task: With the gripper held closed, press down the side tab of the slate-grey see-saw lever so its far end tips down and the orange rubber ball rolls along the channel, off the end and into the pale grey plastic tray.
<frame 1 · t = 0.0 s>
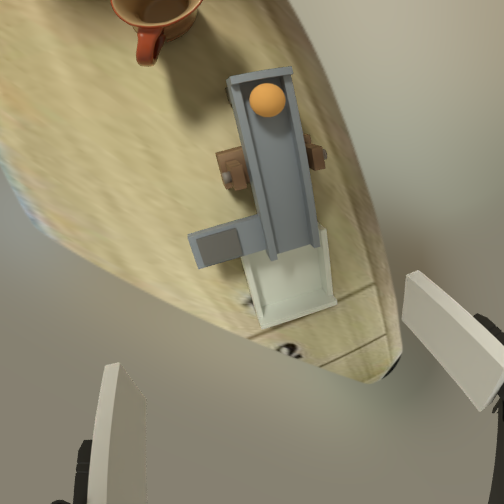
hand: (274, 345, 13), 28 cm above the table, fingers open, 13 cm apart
lever: (240, 176, 30), point 7 cm above the table, hinge at 0.0°, touching ball
mug: (162, 30, 28), on the table
fulcrum: (262, 157, 37), on the table
ball: (267, 100, 26), point 8 cm above the table, touching lever
tray: (285, 268, 44), on the table
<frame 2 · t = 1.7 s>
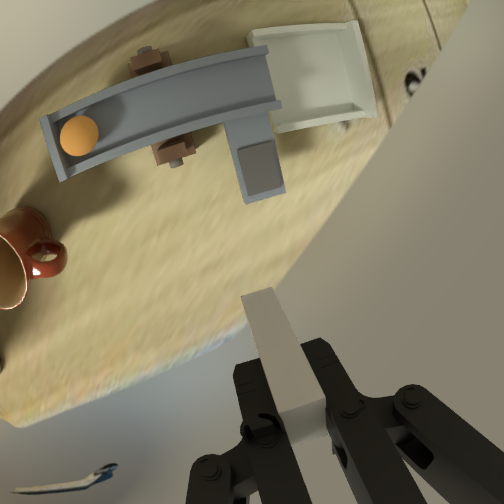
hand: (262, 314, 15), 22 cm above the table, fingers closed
lever: (171, 149, 24), point 7 cm above the table, hinge at 0.0°, touching ball
mug: (41, 232, 31), on the table
fulcrum: (162, 108, 29), on the table
ball: (79, 135, 21), point 8 cm above the table, touching lever
tray: (306, 75, 30), on the table
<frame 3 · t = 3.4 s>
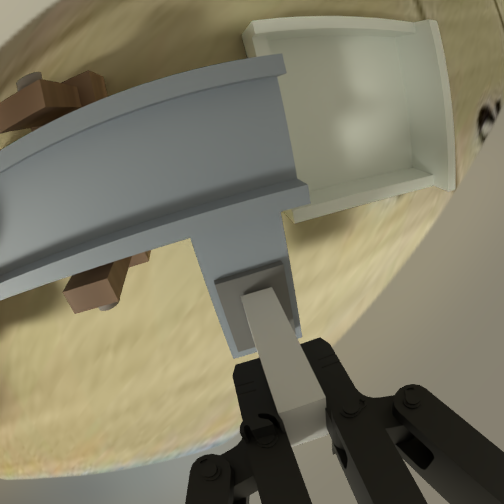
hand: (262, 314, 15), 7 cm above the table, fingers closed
lever: (89, 285, 12), point 7 cm above the table, hinge at 0.3°, touching gripper
fulcrum: (96, 170, 17), on the table
tray: (345, 107, 18), on the table
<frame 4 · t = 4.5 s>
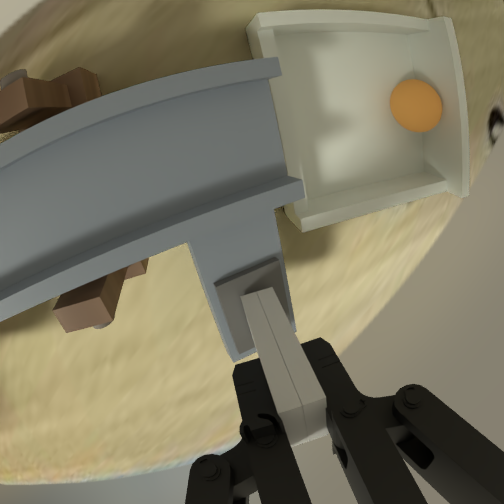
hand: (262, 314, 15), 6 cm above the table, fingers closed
lever: (85, 301, 11), point 7 cm above the table, hinge at 12.6°, touching gripper
fulcrum: (89, 175, 15), on the table
ball: (416, 105, 15), point 2 cm above the table, tilted 147°, touching tray
tray: (355, 107, 17), on the table
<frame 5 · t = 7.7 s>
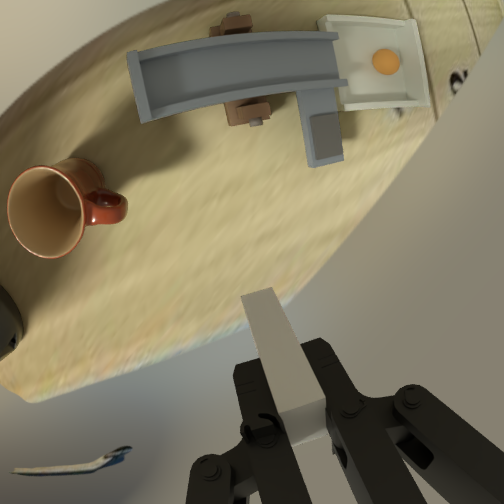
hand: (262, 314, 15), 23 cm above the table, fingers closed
lever: (257, 107, 25), point 7 cm above the table, hinge at 12.7°
mug: (92, 186, 32), on the table
fulcrum: (236, 75, 29), on the table
ball: (386, 61, 28), point 2 cm above the table, tilted 149°, touching tray
tray: (367, 63, 30), on the table
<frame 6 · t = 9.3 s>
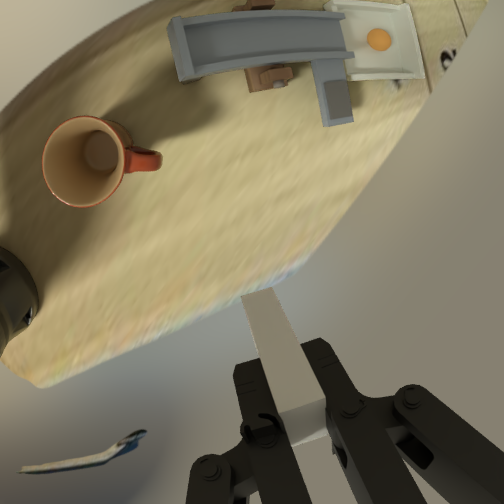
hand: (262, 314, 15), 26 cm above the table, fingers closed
lever: (281, 71, 27), point 7 cm above the table, hinge at 12.7°
mug: (120, 149, 34), on the table
fulcrum: (255, 49, 31), on the table
ball: (379, 39, 31), point 2 cm above the table, tilted 117°, touching tray
tray: (368, 42, 33), on the table
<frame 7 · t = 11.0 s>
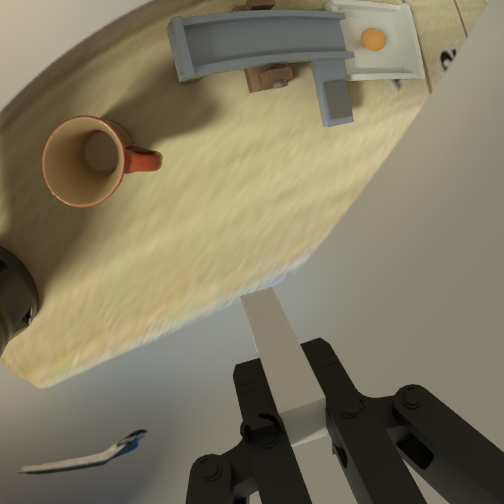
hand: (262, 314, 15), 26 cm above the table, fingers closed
lever: (281, 71, 27), point 7 cm above the table, hinge at 12.7°
mug: (120, 149, 34), on the table
fulcrum: (255, 49, 31), on the table
ball: (373, 39, 31), point 2 cm above the table, tilted 83°, touching tray
tray: (368, 42, 33), on the table
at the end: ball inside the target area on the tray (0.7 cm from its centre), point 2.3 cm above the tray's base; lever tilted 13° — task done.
